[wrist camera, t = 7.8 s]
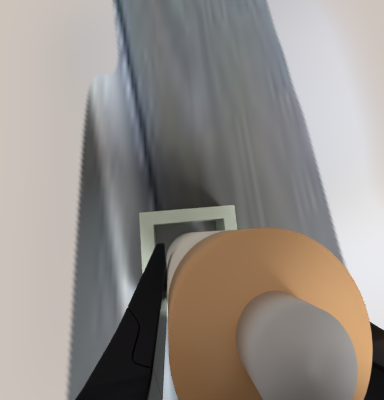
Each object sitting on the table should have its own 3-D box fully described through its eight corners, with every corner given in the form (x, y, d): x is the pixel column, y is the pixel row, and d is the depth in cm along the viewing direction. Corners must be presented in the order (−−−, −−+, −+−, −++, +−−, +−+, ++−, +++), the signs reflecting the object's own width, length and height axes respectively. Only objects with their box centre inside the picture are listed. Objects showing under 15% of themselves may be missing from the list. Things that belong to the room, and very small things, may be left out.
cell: (216, 278, 16) (460, 494, 3) (168, 284, 16) (183, 598, 2) (210, 230, 17) (388, 216, 3) (164, 235, 16) (159, 239, 3)
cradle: (233, 291, 18) (247, 303, 15) (148, 304, 16) (144, 320, 14) (223, 209, 19) (234, 204, 16) (143, 216, 18) (139, 212, 15)
